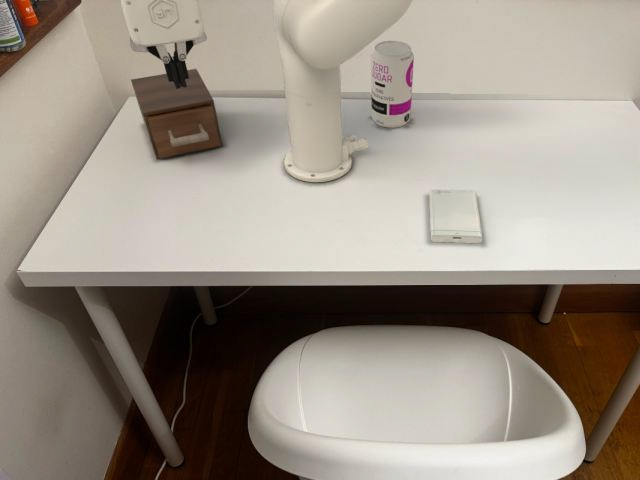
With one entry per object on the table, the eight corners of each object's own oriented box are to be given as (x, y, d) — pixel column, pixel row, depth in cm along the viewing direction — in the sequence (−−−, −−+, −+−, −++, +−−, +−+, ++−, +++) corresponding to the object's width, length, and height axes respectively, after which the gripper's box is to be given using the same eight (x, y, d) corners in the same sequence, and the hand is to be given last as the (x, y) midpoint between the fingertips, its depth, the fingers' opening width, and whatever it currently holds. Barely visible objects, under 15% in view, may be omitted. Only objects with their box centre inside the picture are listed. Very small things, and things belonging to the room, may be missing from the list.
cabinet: (223, 146, 110) (213, 99, 104) (156, 160, 106) (142, 112, 100) (206, 112, 120) (196, 68, 113) (144, 124, 116) (130, 79, 109)
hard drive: (429, 189, 98) (431, 234, 89) (476, 190, 98) (483, 235, 89) (428, 196, 99) (430, 242, 91) (475, 198, 99) (481, 243, 91)
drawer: (227, 158, 106) (219, 119, 100) (164, 171, 102) (152, 132, 96) (205, 114, 117) (196, 77, 112) (148, 125, 114) (137, 88, 108)
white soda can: (412, 112, 121) (416, 41, 111) (407, 131, 115) (410, 58, 105) (375, 108, 122) (376, 37, 112) (368, 127, 116) (367, 54, 106)
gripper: (88, -37, 69) (132, 104, 82) (210, -49, 74) (234, 86, 87) (83, -52, 74) (125, 83, 87) (197, -63, 79) (222, 66, 92)
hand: (179, 84), depth 87 cm, fingers closed
